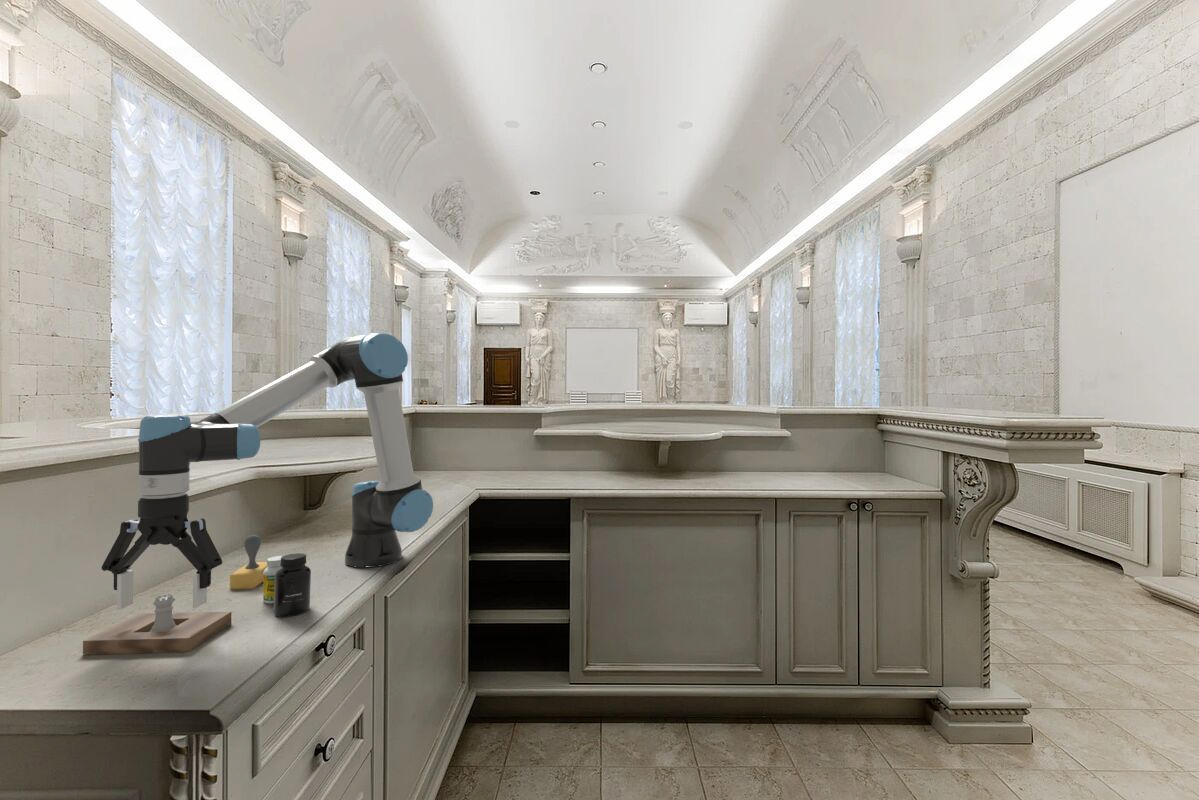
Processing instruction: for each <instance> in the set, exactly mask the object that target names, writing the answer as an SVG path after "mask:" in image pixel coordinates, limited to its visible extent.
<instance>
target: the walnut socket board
mask: <svg viewBox="0 0 1199 800" xmlns="http://www.w3.org/2000/svg"><path fill="white" fill-rule="evenodd" d="M172 616H173V621H174V622H175V625H177V626H176V627H174V628H172V629H170V630H169V631H167V632H150V630H151V629H152V626H153V625H154V622H155V617H156V612H154V613H153V612H152V613H149V612H148V613H137V614H135V615H133V616H131V617H128V618H127V619H125V620H122V621H121V622H118V623H117V624H114V625H112V626H110V627H108V628H106V629H104V630H102V631H101V632H99V633H96V634H94V635H92V636H90V637H88V638H86V639H84V640H82V655H83V654H95V655H118V654H119V655H123V654H128V655H129V654H131V655H132V654H157V653H158V654H161V653H163V654H164V653H188V652H190V651H192V650H194V649H195V648H196V647H198V646H200V645H201V644H203V643H204V642H206V641H208V640H209V639H210V638H212V637H214V636H215V635H216V634H218V633H220V632H221V631H222V630H224V629H226V628H227V627H229V626H230V625H232V611H206V612H204V611H200V612H196V611H195V612H172Z"/></svg>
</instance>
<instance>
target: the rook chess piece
mask: <svg viewBox="0 0 1199 800" xmlns="http://www.w3.org/2000/svg"><path fill="white" fill-rule="evenodd" d="M173 596H174V595H173V594H171V593H169V594H168V596H167V594H165V593H164V594H163V597H162V595H157V596H156V597H155V600H154V601H153V603H152V604H153V605H154V607H155V609H154V613H156V617H155V622H154V625H153V626H152V629H151V630H150V632H167V631H169V630H170V629H172V628H174V627H176V626H177V625H175V622H174V621H173V616H172V613H173V609H174V607H173V603H174V602H175V601H176V598H174V597H173Z"/></svg>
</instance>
